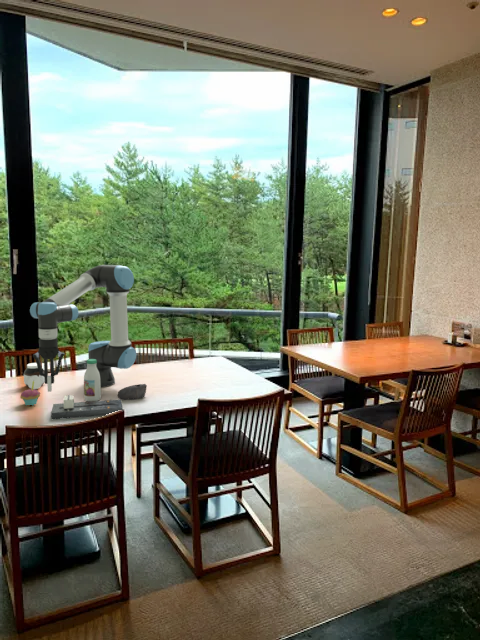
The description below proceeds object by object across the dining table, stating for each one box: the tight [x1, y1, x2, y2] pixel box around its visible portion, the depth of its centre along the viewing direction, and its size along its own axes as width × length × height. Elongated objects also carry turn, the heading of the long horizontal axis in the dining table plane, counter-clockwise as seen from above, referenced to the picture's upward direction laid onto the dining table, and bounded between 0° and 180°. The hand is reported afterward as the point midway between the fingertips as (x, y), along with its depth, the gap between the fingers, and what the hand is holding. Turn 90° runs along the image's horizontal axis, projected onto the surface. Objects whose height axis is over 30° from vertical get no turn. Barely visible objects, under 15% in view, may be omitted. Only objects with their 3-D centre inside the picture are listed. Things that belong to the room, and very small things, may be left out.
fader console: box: [50, 398, 123, 420], centre depth 217 cm, size 12×30×3 cm, turn 107°
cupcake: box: [20, 381, 41, 406], centre depth 225 cm, size 9×8×12 cm
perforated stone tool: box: [117, 383, 147, 401], centre depth 237 cm, size 15×5×7 cm, turn 115°
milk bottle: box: [83, 358, 102, 402], centre depth 233 cm, size 8×8×20 cm
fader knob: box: [63, 394, 75, 409], centre depth 214 cm, size 6×4×4 cm, turn 17°
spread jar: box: [23, 362, 45, 390], centre depth 252 cm, size 12×11×12 cm
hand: (49, 390), depth 211 cm, fingers closed
